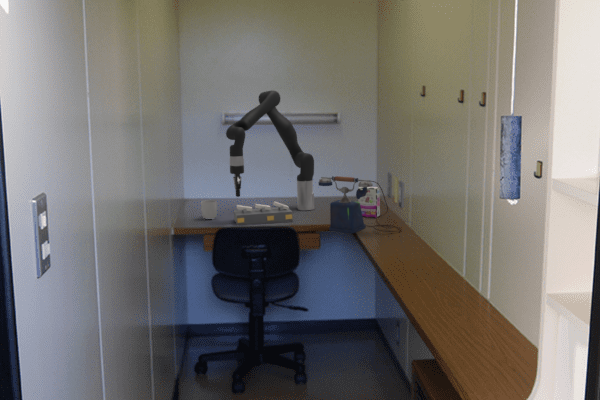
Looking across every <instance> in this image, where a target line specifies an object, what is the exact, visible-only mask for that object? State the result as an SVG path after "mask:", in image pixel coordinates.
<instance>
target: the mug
mask: <svg viewBox="0 0 600 400" xmlns="http://www.w3.org/2000/svg"><path fill="white" fill-rule="evenodd" d="M200 209H201V215H202V218H203V217H204V218H215V217H216V218H217V214H218V202H217V200H216V199H204V200H201V201H200ZM204 218H203V219H204ZM216 218H215V219H216Z"/></svg>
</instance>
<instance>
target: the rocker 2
mask: <svg viewBox="0 0 600 400" xmlns="http://www.w3.org/2000/svg"><path fill="white" fill-rule="evenodd" d="M272 205H273V206H275V207H280V206H283V208H284V209H287V210H288V208H289V209H290V207H289V206H288V205H286V204H284V203H280V202H278V201H275V200H274V201H273V204H272Z"/></svg>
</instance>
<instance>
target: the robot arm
mask: <svg viewBox="0 0 600 400" xmlns="http://www.w3.org/2000/svg"><path fill="white" fill-rule="evenodd" d="M258 103H259V104H258V105H256V106H255V107H254V108H252V109H251V110H249V111H248V112H246V113H245V115H243V116H242V117H241V118H240V119H239V120H238V121H235V122H234V123H232V124H231V125H230V126H228V128H227V130H226V131H225V137H226V138H227V139H228V140H230V141H234V143H233V144H231V145H230V146H229V173H230V174H231V175H234V176H233V177H232V179H233V185H234V189H235V196H236V198H237V197H238V198H239V197H241V188H242V176H241V175H242V174H244V173H245V159H244V145H245V142H246V141H245V139H246V131H247V132H248V131H249V130H250V129H251V128H252V127H253V126H254V125H255V124H256V123H257V122H258V121H260V119H262V117H263V116H265V115H267V117H268V118H269V120H270V121H271V124H273V126H274V128H275V129H276V132H277V133H278V135H279V136H280V138H281V140H282V142H283V144H284V146H285V148H286V149H287V150H288V152H289V154H290V157H291V159H292V161H293V163H294V165H295V166H296V168H298V169H299V170H300V173H299V174H297V176H296V193H297V195H296V196H297V197H296V198H297V210H299V211H312V210H315V194H314V190H313V189H314V184H313V182H314V180H313V179H314V175H315V159H314V157H313V156H314V155H312V154H311V153H307V152H304V151H303V150H302V148H301V146H300V144H299V142H298V134H297V131H296V129H295V128H294V125H293V124H292V122H291V120H289V119H288V118H287V117H286V116H284V115H283V114H282V113H281V112H280V111H279V110H278V108H277V106H278V105H280V103H281V95H280V93H279V92H278V91H277V90H266V91H263V92H261V93H260V94H259V95H258Z"/></svg>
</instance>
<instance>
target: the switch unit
mask: <svg viewBox="0 0 600 400" xmlns="http://www.w3.org/2000/svg"><path fill="white" fill-rule="evenodd" d="M233 219H234V220H235V221H234V222H236V223H235V224H236V226H237V225H239V226H248V225H247V224H252V225H261V224H263V225H264V224H265V225H266V224H276V223H289V222H290V223H292V221H293V210H291V208H290V207H289V208H288V210H287V209H284V208H283V206H280V207H278V206H275V207H271V209H270V210H267V209H265V207H262V209H260V208H252V211H247V209H246V208H245V209H243V210H240V209H234V210H233Z"/></svg>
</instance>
